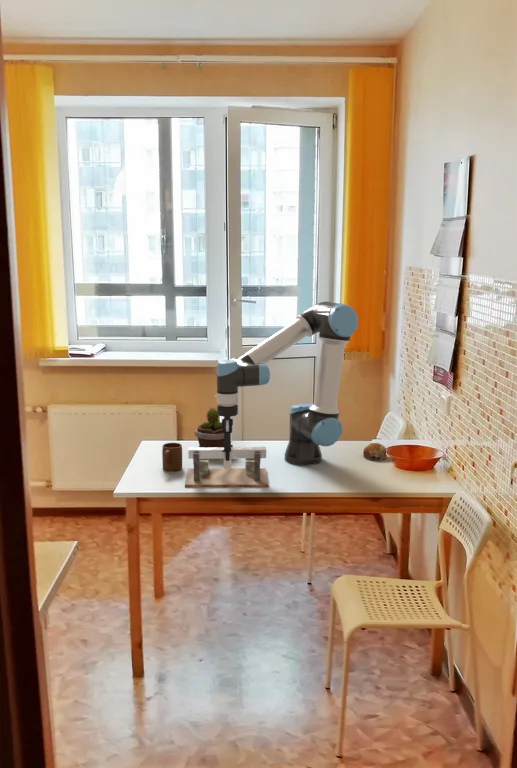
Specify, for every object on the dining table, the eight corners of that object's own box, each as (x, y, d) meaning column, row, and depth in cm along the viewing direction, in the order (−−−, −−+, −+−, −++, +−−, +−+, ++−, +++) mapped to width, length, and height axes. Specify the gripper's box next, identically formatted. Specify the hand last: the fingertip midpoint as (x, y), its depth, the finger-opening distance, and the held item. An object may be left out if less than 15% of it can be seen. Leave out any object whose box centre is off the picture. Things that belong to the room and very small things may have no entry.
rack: (265, 470, 255) (266, 440, 253) (268, 487, 238) (269, 455, 235) (187, 470, 254) (187, 440, 252) (184, 487, 236) (184, 455, 234)
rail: (265, 455, 242) (265, 447, 242) (266, 458, 239) (266, 449, 239) (189, 455, 241) (188, 447, 241) (188, 458, 238) (188, 450, 237)
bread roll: (388, 465, 275) (392, 447, 277) (380, 461, 267) (384, 442, 268) (366, 461, 281) (370, 443, 282) (357, 457, 272) (362, 438, 273)
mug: (175, 476, 248) (175, 452, 246) (156, 474, 249) (155, 450, 247) (184, 466, 260) (184, 443, 258) (166, 464, 261) (165, 441, 259)
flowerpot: (230, 459, 269) (230, 411, 265) (192, 458, 269) (192, 411, 265) (232, 449, 283) (232, 403, 279) (196, 448, 283) (196, 402, 279)
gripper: (217, 398, 244) (217, 459, 249) (216, 409, 228) (216, 474, 233) (237, 398, 244) (237, 459, 249) (238, 409, 228) (238, 474, 233)
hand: (227, 466), depth 241 cm, fingers closed on rail, 3 cm apart
